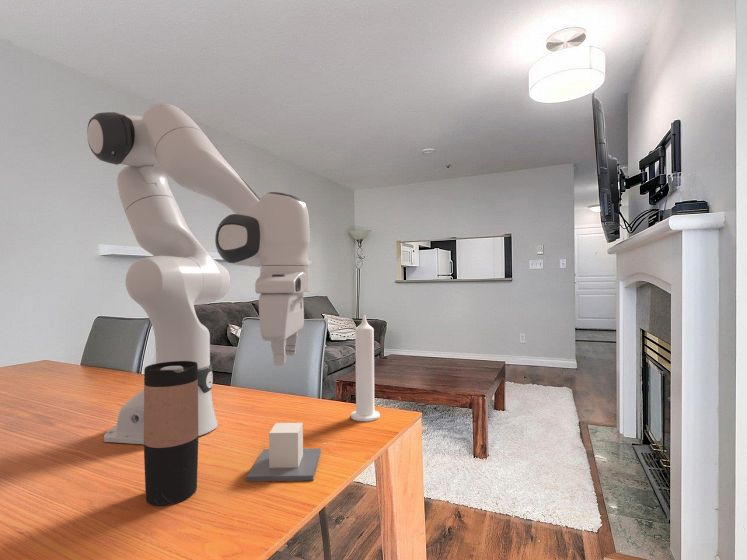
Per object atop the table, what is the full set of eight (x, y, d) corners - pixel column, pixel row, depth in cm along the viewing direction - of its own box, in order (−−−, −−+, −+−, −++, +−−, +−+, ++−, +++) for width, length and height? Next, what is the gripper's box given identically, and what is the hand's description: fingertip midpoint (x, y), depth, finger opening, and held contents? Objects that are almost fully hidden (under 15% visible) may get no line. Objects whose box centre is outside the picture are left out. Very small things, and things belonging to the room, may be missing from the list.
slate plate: (246, 481, 66) (246, 476, 66) (263, 453, 77) (263, 449, 77) (313, 480, 66) (313, 475, 66) (320, 452, 77) (320, 448, 77)
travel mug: (157, 482, 66) (157, 361, 66) (205, 480, 66) (205, 360, 66) (133, 508, 58) (133, 371, 58) (188, 505, 59) (187, 369, 59)
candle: (376, 422, 93) (375, 316, 94) (347, 420, 95) (346, 315, 95) (382, 413, 100) (381, 313, 101) (354, 411, 102) (354, 313, 102)
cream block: (269, 467, 69) (269, 433, 69) (276, 455, 74) (275, 423, 74) (298, 467, 69) (297, 432, 69) (303, 455, 74) (302, 422, 74)
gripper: (280, 283, 82) (280, 350, 82) (251, 282, 62) (251, 371, 62) (311, 282, 82) (311, 349, 82) (292, 282, 62) (292, 371, 62)
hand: (285, 359), depth 72 cm, fingers open, 8 cm apart
